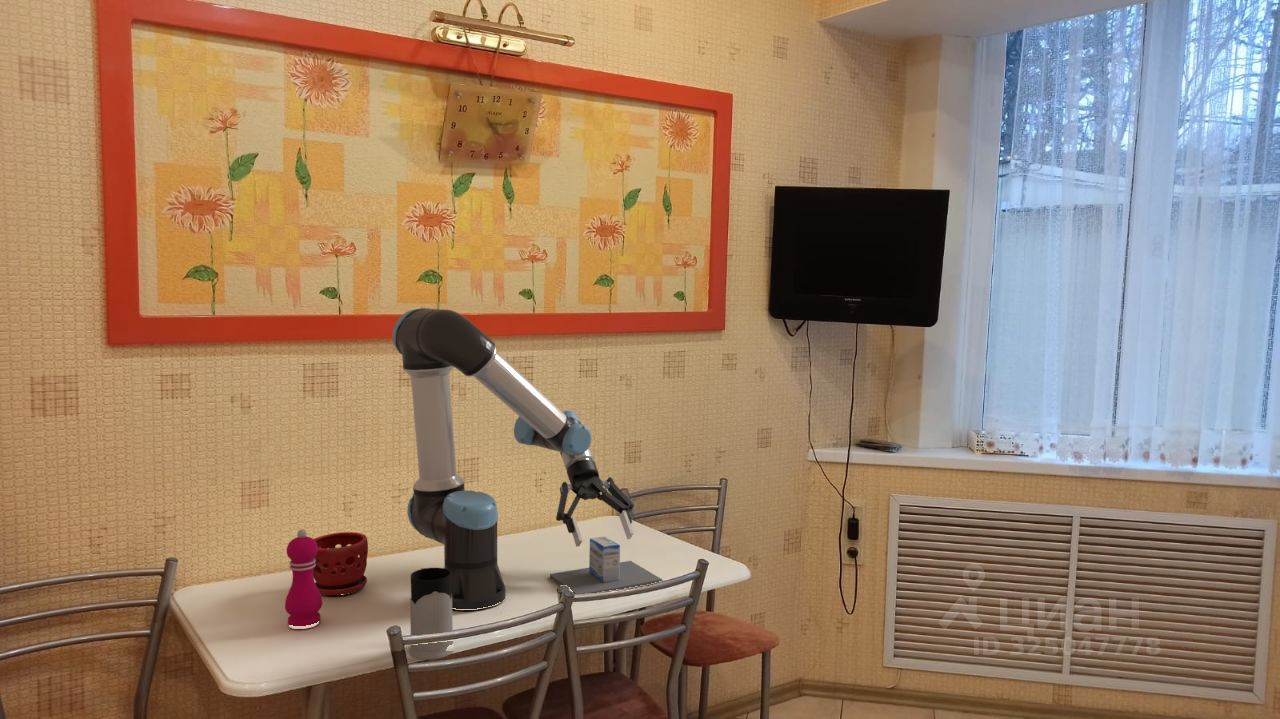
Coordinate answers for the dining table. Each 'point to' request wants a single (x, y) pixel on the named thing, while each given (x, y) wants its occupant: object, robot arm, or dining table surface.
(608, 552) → the medicine box
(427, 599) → the glass holder
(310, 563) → the pepper mill
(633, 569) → the rubber mat
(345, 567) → the plant pot
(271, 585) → the dining table surface
